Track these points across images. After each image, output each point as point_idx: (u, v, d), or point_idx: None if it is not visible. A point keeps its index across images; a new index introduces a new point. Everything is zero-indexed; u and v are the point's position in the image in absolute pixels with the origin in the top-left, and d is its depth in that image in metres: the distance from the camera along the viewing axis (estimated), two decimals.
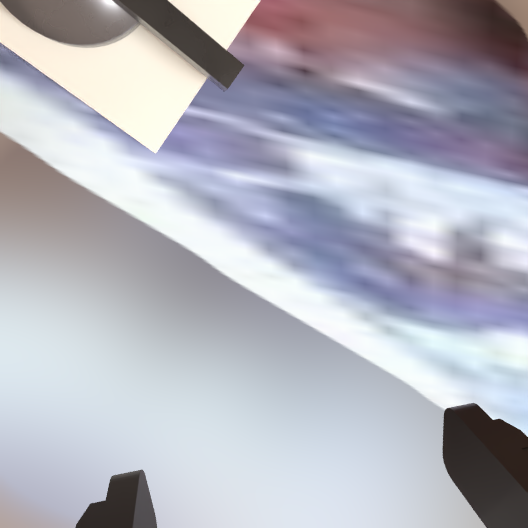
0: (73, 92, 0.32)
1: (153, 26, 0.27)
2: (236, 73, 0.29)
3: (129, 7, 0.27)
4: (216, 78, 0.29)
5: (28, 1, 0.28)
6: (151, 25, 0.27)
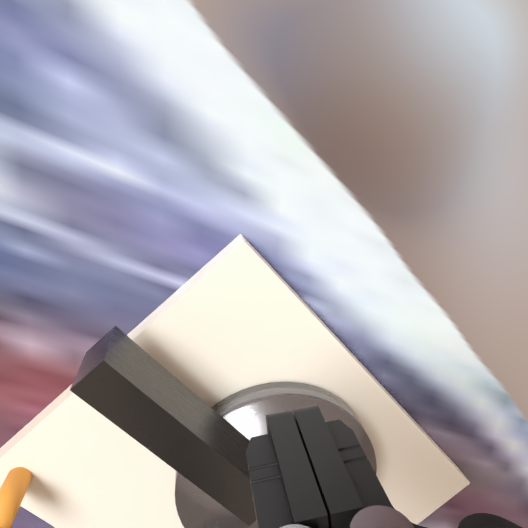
0: (327, 334, 0.24)
1: (203, 444, 0.19)
2: (84, 379, 0.17)
3: (230, 464, 0.19)
4: (120, 375, 0.17)
5: None
6: (206, 445, 0.19)
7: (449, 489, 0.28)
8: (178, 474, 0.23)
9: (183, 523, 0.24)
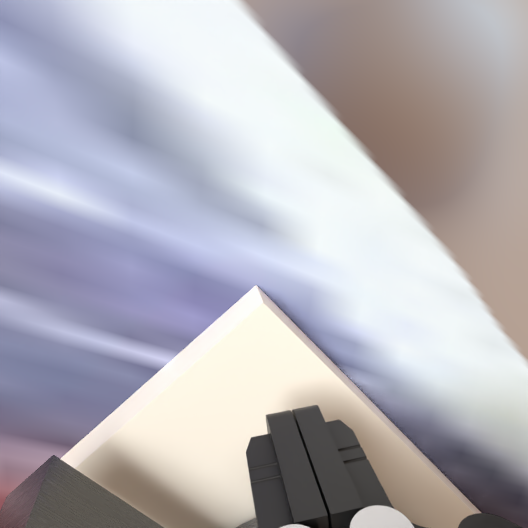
0: (386, 431, 0.16)
1: None
2: None
3: None
4: None
5: None
6: None
7: None
8: None
9: None
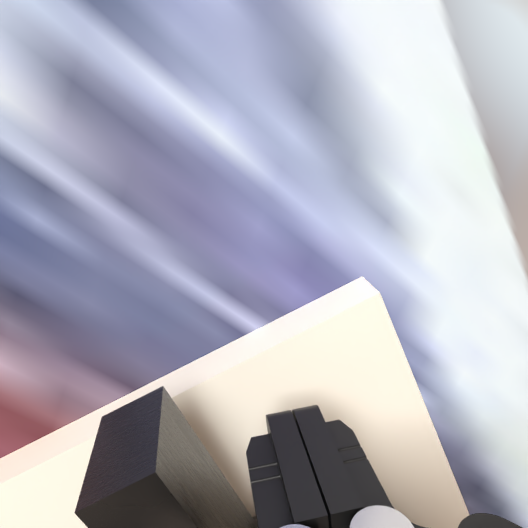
0: (438, 447, 0.16)
1: None
2: (108, 499, 0.09)
3: None
4: (175, 502, 0.09)
5: None
6: None
7: None
8: None
9: None
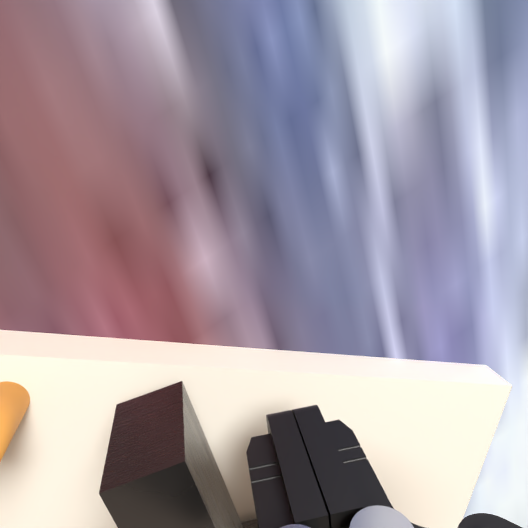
0: None
1: None
2: (134, 483, 0.09)
3: None
4: (196, 494, 0.09)
5: None
6: None
7: None
8: None
9: None
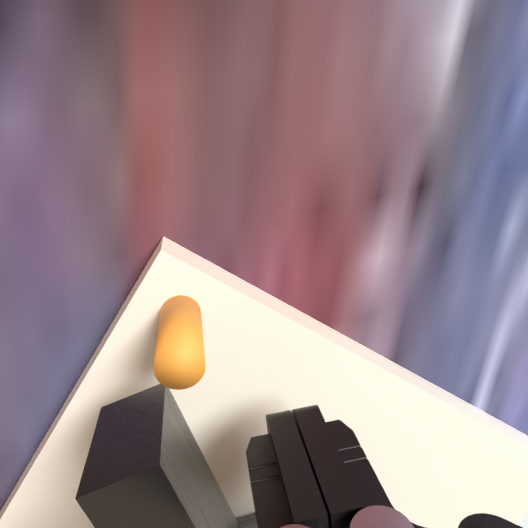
0: None
1: None
2: (110, 488, 0.09)
3: None
4: (174, 496, 0.09)
5: None
6: None
7: None
8: None
9: None
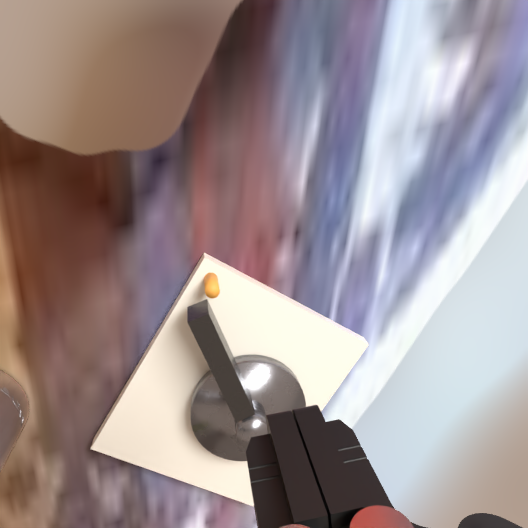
0: (329, 397, 0.45)
1: (233, 370, 0.37)
2: (196, 320, 0.35)
3: (241, 385, 0.38)
4: (212, 323, 0.35)
5: (291, 399, 0.42)
6: (234, 371, 0.37)
7: (247, 498, 0.48)
8: (201, 388, 0.41)
9: (191, 417, 0.41)
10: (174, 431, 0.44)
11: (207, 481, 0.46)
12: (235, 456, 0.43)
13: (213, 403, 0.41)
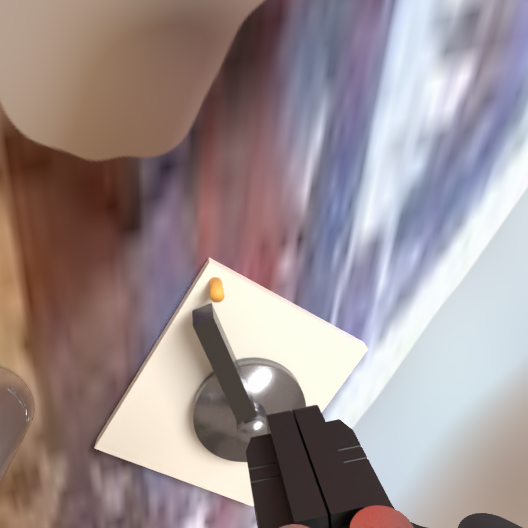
0: (329, 400, 0.46)
1: (237, 373, 0.38)
2: (201, 323, 0.36)
3: (243, 388, 0.38)
4: (217, 327, 0.36)
5: (292, 402, 0.43)
6: (237, 374, 0.38)
7: (246, 498, 0.49)
8: (204, 390, 0.41)
9: (193, 418, 0.42)
10: (176, 432, 0.44)
11: (208, 481, 0.47)
12: (236, 457, 0.44)
13: (215, 405, 0.42)
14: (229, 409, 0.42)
